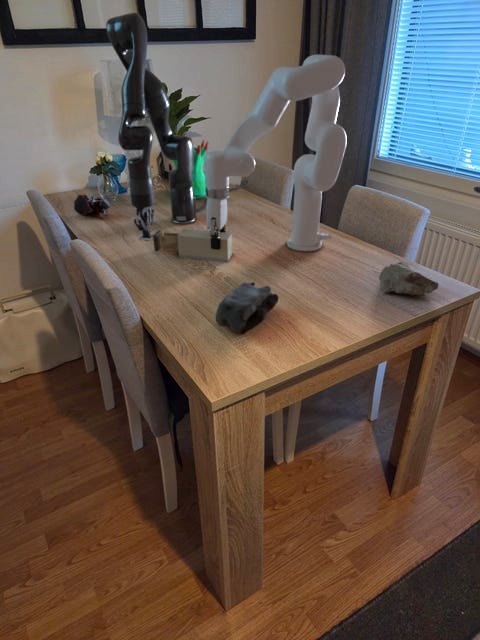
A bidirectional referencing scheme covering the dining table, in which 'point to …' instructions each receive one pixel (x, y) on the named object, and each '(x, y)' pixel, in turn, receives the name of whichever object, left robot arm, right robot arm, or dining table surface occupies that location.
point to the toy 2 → (198, 170)
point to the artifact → (405, 280)
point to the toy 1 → (90, 206)
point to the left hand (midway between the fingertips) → (147, 240)
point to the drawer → (163, 241)
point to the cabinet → (203, 245)
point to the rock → (245, 307)
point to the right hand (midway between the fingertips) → (218, 244)
